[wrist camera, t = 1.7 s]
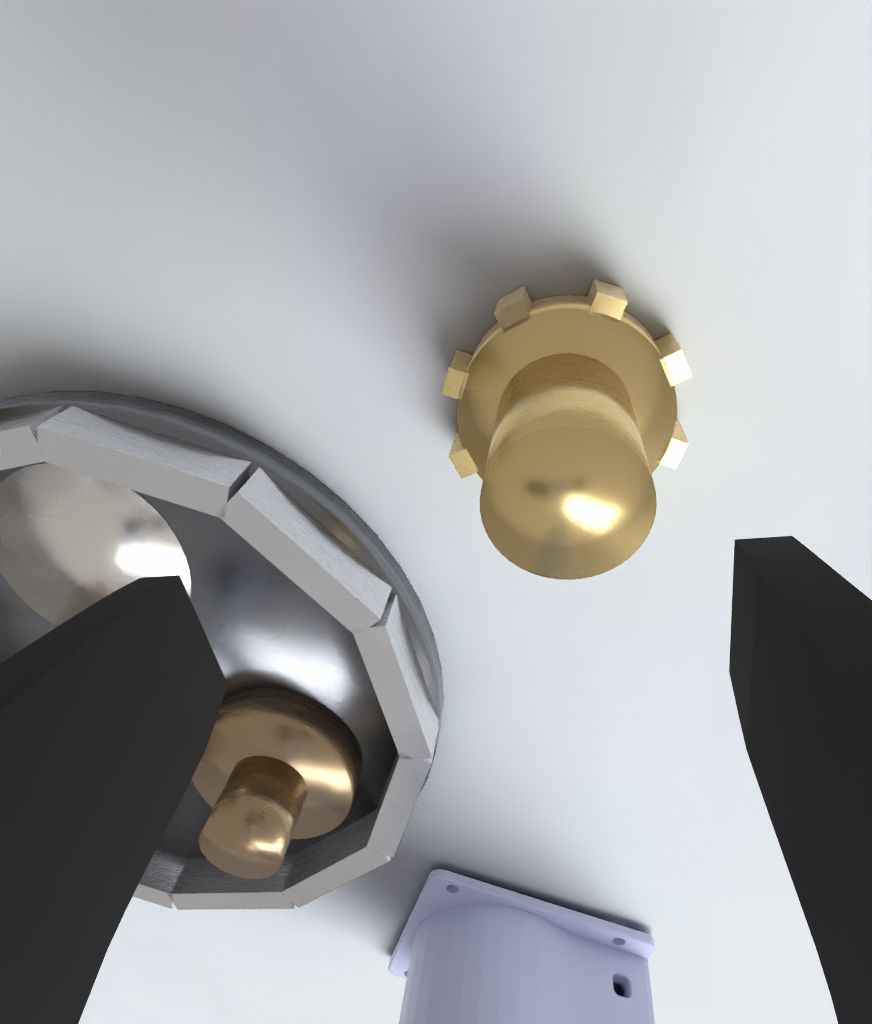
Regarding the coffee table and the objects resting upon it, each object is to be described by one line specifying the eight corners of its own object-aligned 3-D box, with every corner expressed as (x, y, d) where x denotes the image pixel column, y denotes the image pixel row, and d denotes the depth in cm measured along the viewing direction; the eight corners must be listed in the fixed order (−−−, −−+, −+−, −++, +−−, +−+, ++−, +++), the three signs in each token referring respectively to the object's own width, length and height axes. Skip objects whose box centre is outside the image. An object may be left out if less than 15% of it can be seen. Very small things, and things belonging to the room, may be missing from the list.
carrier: (527, 517, 20) (518, 632, 15) (370, 905, 30) (338, 1041, 26) (-163, 298, 20) (-373, 349, 15) (-82, 762, 30) (-194, 874, 26)
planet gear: (728, 321, 17) (807, 411, 11) (626, 526, 20) (652, 671, 14) (487, 244, 16) (456, 299, 11) (423, 462, 20) (375, 583, 14)
